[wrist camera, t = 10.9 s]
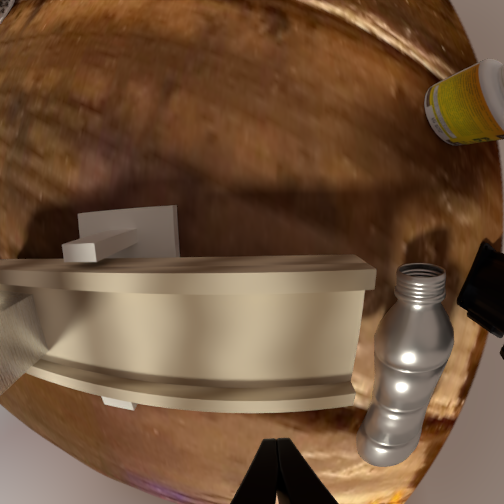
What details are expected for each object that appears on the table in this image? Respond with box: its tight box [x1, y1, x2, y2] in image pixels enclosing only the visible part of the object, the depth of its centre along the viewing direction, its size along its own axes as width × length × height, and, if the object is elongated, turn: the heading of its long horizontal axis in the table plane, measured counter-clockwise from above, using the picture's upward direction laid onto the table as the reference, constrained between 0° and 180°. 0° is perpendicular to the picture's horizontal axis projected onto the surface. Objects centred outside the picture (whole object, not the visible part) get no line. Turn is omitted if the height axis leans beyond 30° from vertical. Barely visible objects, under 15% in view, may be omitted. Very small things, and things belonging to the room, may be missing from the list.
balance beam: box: [0, 254, 377, 413], centre depth 16 cm, size 30×8×6 cm, turn 91°
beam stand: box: [62, 205, 180, 410], centre depth 17 cm, size 8×14×7 cm, turn 1°
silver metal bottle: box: [356, 263, 454, 467], centre depth 18 cm, size 6×7×20 cm
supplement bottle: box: [424, 59, 504, 146], centre depth 12 cm, size 6×6×10 cm
